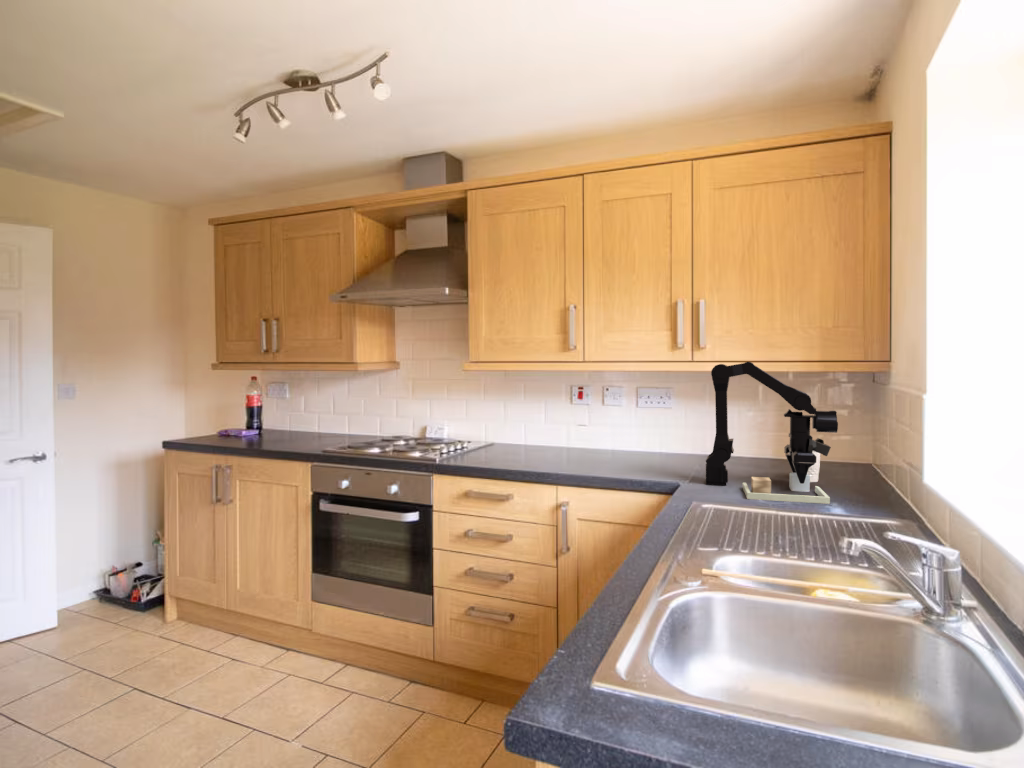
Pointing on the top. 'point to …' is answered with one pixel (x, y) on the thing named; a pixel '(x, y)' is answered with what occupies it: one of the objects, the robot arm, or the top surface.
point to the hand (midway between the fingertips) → (799, 480)
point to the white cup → (814, 468)
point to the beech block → (760, 485)
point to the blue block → (796, 485)
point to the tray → (789, 496)
